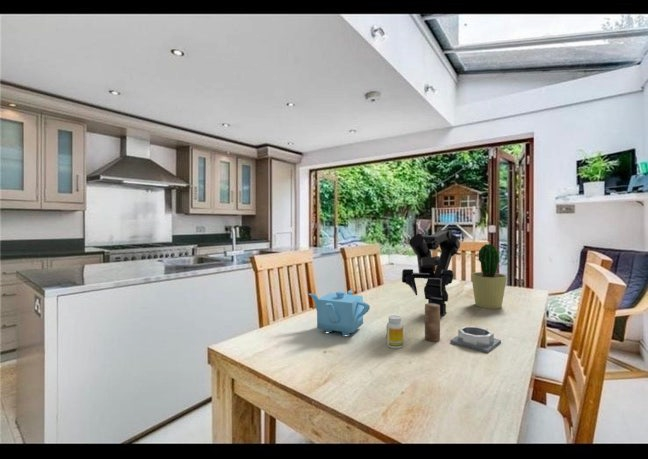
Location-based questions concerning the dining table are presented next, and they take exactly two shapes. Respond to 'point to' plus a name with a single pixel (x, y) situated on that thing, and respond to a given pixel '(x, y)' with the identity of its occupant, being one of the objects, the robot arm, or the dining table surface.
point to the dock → (480, 348)
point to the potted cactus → (488, 279)
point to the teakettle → (340, 311)
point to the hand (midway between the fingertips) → (429, 295)
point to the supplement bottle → (394, 332)
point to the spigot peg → (432, 322)
